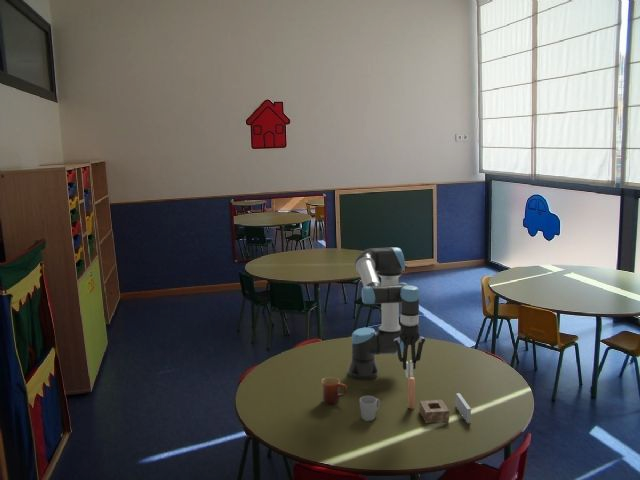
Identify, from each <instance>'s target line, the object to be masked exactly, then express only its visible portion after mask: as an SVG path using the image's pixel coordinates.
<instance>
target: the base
mask: <svg viewBox="0 0 640 480" xmlns="http://www.w3.org/2000/svg"><path fill="white" fill-rule="evenodd" d="M456 406H457V408H458V409H459V411H460V412H459V411H458V412H459V414H460V413H461V414H462V415H463V417H464V418H463V417H462V418H463V419H465V420H466V421H465V420H464V421H465V423H466V422H470V421H471V416H472V408H471V407H470V405H469V404H468V402H467V401H466V399H465V398H464V397H463V396H462V394H461V393H459V392H458V393H456V394H455V407H456ZM457 408H456V409H457ZM458 409H457V410H458ZM461 414H460V415H461ZM462 415H461V416H462ZM470 423H471V422H470Z"/></svg>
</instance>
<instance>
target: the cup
mask: <svg viewBox="0 0 640 480" xmlns="http://www.w3.org/2000/svg"><path fill="white" fill-rule="evenodd" d="M359 407H360V409H359V410H360V416H361V418H362V420H363V421H366V422H371V421H374V420H375V419H376V413H377V412H378V411H379V409H380V407H381V401H380V399H379V398H376V397H375V396H373V395H363V396H361V397H360V398H359Z"/></svg>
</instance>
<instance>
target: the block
mask: <svg viewBox="0 0 640 480" xmlns="http://www.w3.org/2000/svg"><path fill="white" fill-rule="evenodd" d="M419 413H420V415H421V416H423V417H422V419H423V418H424V419H423V420H425V421H424V422H425V424H433V423H447V422H446V421H449V422H450V410H449V408H448V406H447V405H446V404H445V402H444V401H443V399H430V400H419ZM443 421H445V422H443Z"/></svg>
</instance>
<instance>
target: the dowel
mask: <svg viewBox="0 0 640 480" xmlns="http://www.w3.org/2000/svg"><path fill="white" fill-rule="evenodd" d="M407 379H408V388H407V389H408V390H407V391H408V392H407V393H408V394H407V396H408V397H407V399H408V401H407V402H408V403H407V408H408V409H409V408H410V410H414V409H415V408H416V407H415V406H416V405H415V403H416V402H415V399H416V395H415V394H416V393H415V392H416V378H415V377H414V376H413V377H411V376H410V377H409V376H408V378H407ZM414 407H415V408H414ZM413 408H414V409H413Z"/></svg>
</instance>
